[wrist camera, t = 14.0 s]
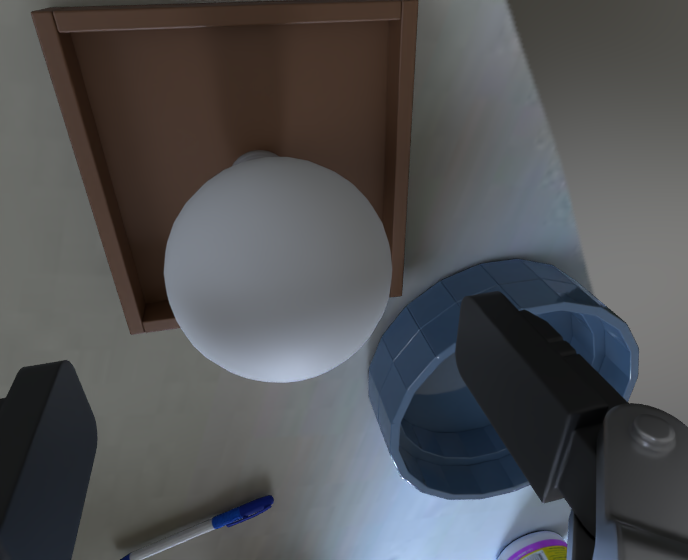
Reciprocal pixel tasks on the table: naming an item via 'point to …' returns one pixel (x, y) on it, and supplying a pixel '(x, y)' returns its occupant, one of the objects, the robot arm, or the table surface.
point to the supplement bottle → (536, 547)
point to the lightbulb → (277, 268)
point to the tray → (226, 112)
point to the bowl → (452, 393)
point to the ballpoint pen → (205, 527)
